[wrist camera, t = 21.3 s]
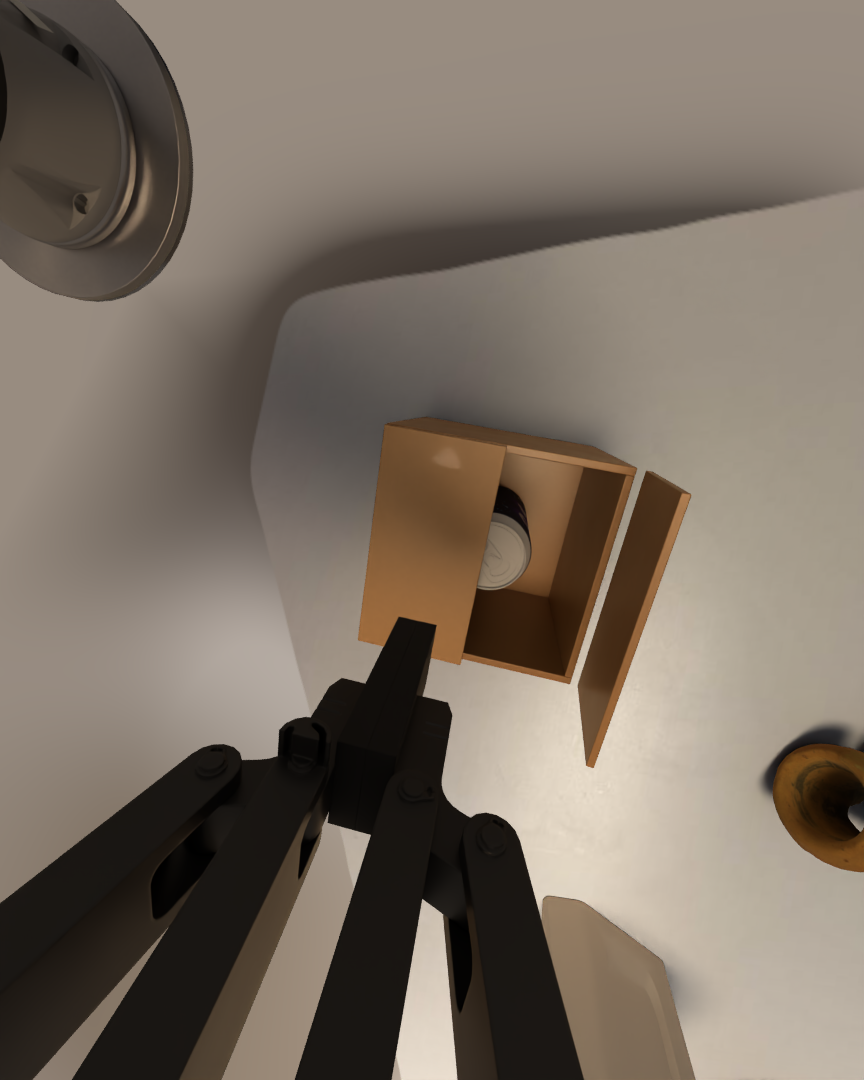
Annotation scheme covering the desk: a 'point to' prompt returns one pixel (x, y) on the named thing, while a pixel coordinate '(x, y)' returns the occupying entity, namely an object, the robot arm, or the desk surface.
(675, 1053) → the tall recessed triangular prism
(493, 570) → the beverage can
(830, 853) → the brown looped sculpture
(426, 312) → the desk surface
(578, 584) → the carton
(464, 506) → the flap
